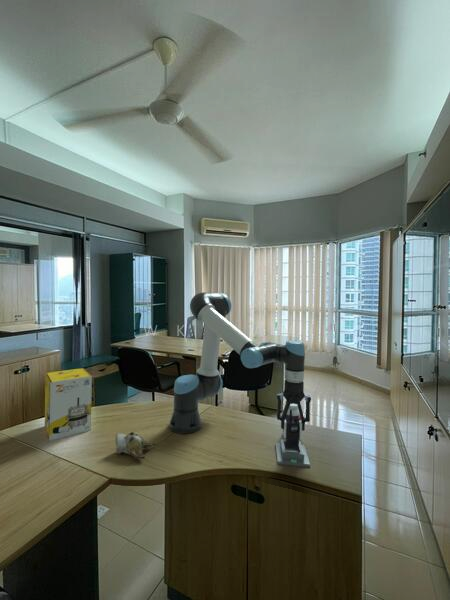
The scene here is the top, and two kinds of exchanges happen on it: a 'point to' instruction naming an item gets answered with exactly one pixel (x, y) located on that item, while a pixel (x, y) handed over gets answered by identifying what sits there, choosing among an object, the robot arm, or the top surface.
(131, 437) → the ceramic sculpture
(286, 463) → the charging cradle
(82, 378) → the packaging box
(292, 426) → the two-way radio
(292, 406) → the pill bottle
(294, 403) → the robot arm
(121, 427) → the top surface
